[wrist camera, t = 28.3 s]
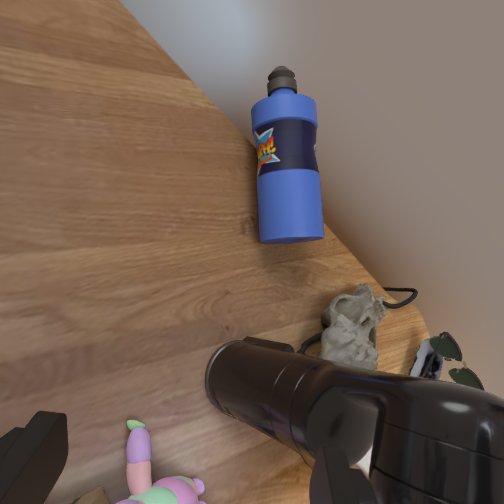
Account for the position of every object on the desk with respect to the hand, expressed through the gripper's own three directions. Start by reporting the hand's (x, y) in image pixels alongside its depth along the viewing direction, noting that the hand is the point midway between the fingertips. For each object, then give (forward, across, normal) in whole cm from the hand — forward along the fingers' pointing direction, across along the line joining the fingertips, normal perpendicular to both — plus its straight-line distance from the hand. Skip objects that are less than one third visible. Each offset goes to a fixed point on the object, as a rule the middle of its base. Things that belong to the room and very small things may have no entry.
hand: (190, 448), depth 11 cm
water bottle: (+40, -7, +5) cm, 41 cm away
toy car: (+48, -38, +30) cm, 68 cm away
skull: (+38, -25, +10) cm, 47 cm away
